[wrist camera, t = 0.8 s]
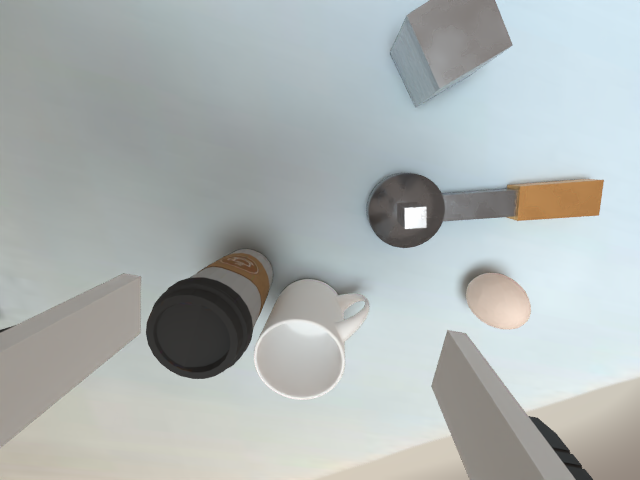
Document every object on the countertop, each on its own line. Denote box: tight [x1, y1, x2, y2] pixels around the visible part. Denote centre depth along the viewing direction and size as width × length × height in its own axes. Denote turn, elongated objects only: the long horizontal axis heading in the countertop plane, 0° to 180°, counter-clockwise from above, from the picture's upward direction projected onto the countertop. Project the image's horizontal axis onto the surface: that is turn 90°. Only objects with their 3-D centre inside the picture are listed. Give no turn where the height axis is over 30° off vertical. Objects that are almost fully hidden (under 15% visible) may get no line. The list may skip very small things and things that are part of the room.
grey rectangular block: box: [390, 0, 513, 107], centre depth 27 cm, size 6×6×8 cm
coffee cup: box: [146, 249, 273, 379], centre depth 30 cm, size 8×8×15 cm
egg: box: [466, 273, 531, 329], centre depth 32 cm, size 6×6×8 cm
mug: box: [254, 279, 369, 400], centre depth 33 cm, size 9×12×11 cm
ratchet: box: [367, 173, 604, 248], centre depth 31 cm, size 8×24×6 cm, turn 95°
